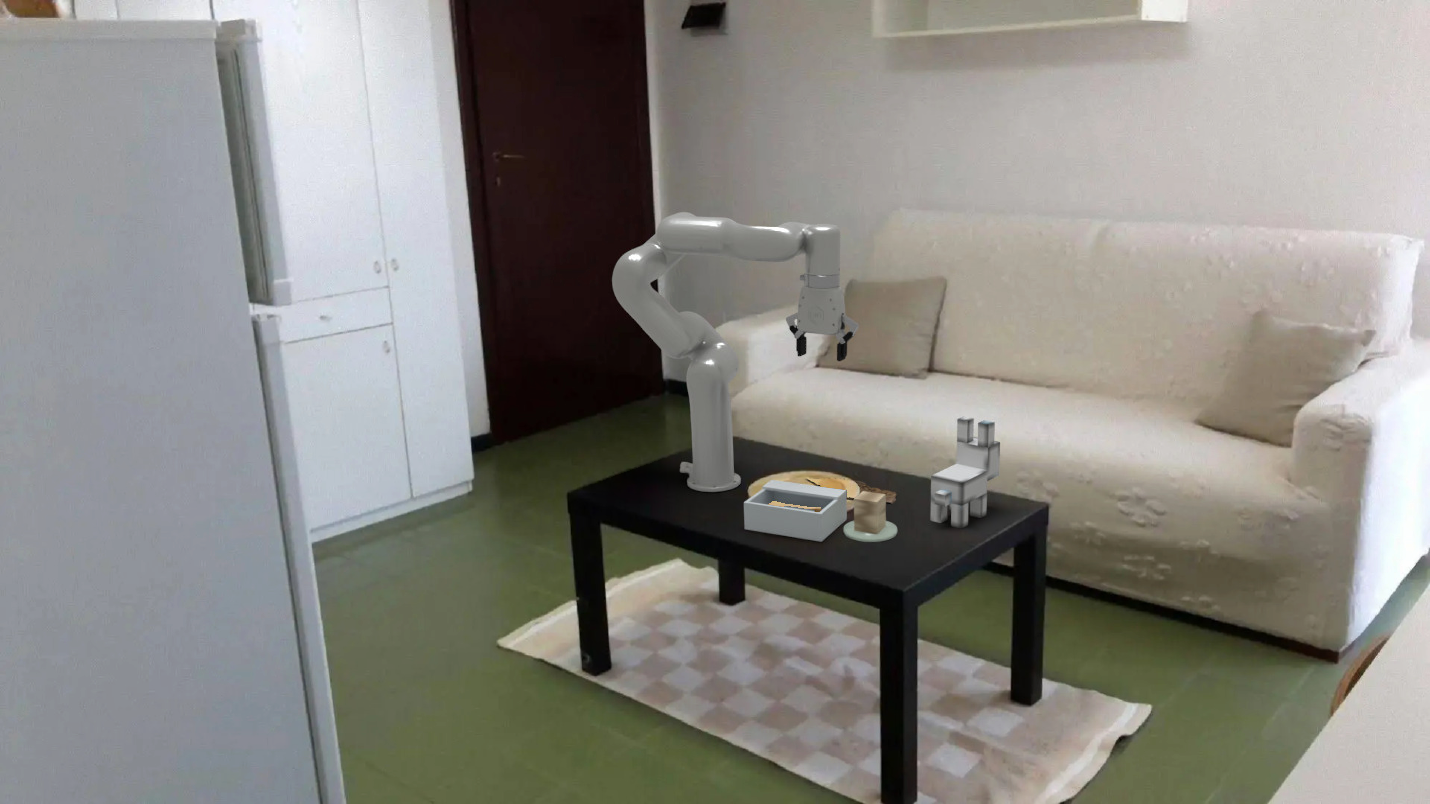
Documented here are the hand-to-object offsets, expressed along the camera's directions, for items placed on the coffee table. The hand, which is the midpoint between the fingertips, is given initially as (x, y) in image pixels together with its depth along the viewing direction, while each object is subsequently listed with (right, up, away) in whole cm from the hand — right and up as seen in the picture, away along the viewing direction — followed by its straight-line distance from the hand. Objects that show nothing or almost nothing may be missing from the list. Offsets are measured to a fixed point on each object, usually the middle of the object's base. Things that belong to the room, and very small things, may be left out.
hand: (821, 357), depth 256 cm
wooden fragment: (+7, -31, +7) cm, 32 cm away
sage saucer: (+9, -37, -18) cm, 42 cm away
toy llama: (+29, -34, -11) cm, 46 cm away
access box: (-6, -36, -12) cm, 38 cm away
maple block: (+8, -36, -18) cm, 41 cm away
